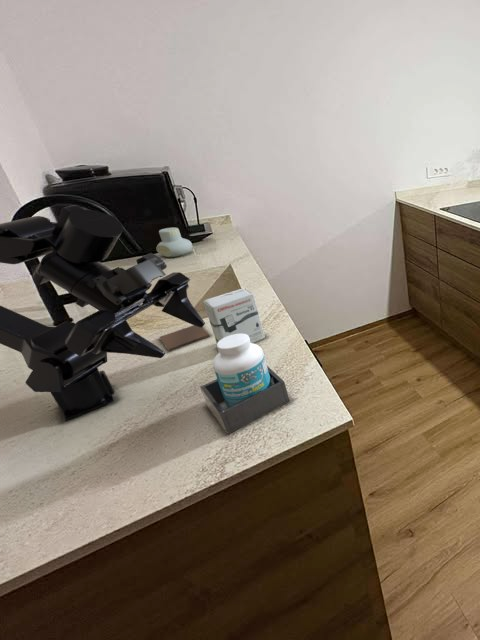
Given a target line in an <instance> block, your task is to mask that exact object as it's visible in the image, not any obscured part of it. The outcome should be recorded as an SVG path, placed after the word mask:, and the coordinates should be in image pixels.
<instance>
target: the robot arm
mask: <svg viewBox="0 0 480 640" xmlns="http://www.w3.org/2000/svg"><path fill="white" fill-rule="evenodd" d="M123 232H124V226H123V224H122V223H121V222H120V220H118V219H117V218H116V217H114V216H113V215H111V214H107V213H104V212H101V211H97V210H93V209H84V207H83V208H82V207H81V206H80V205H79V204H74V205H69V206H65V207H62V208H61V210H60V212H59V217H58V220H57V222H55V221H51V219H50V218H48V217H45V216H41V215H34V216H30V217H26V218H21V219H20V218H19V219H16V220H11V221H6V222H3V223H0V264H6V265H18V264H22V263H25V262H28V261H31V260H34V259H37V258H41V257H42V258H41V260H40V262H39V263H38V264H37V265H33V266H31V267H30V270H31V272H32V281H33V283H34V285H36V286H40V285H42V284H45V283H47V282H52V283H53V284H55V285H56V286H58V287H60V288H61V289H63V290H64V291H66V292H68V293H70V294H71V295H73V296H74V297H76V298H77V300H76V302H75V305H77V306H79V307H81V308H85V307H87V306H91V307H92V308H94V309H95V310H97V311H95V312H93V313H91V314H89V315H88V316H85V317H83V318H82V319H81V318H80V319H79V320H77V321H76V322H74V321H69V320H67V321H64V322H62V323H59V324H58V325H56V326H50V325H49V326H48V325H46V324H43V323H42V322H39V321H36V320H34V319H32V318H30V317H28V316H25V315H23V314H21V313H18V312H16V311H14V310H11V309H10V308H7V307H5V306H3V305H0V345H2V346H5V347H7V348H9V349H12V350H13V351H17V352H19V353H20V354H21V356H22V357H23V360H24V362H25V364H26V367H27V368H28V369H30V370H31V372H30V374H29V375H28V376H27V379H26V380H25V385H26V386H28V387H29V389H31V391H33V392H34V393H50V394H51V396H52V398H53V400H54V401H55V403H56V404H57V406H58V407H59V409H60V411H61V414H62V418H63V421H65V422H67V421H69V420H72V419H74V418H77V417H79V416H82V415H84V414H87V413H90V412H92V411H94V410H97V409H99V408H102V407H104V406H106V405H109V404H112V403H113V402H115V398H114V396H113V395H114V394H115V389H114V388H113V385H112V383H111V381H110V379H109V377H108V375H107V373H106V371H105V370H100V369H99V367H100V366H103V365H104V364H106V363H107V362H108V353H110V354H111V353H112V354H127V355H134V356H140V357H141V356H142V357H147V358H148V357H149V358H156V359H162V358H164V357H165V355H166V352H165V351H164V350H162V349H161V348H160V347H159V346H157V344H154V343H152V342H151V341H149V340H148V339H146V338H145V337H144V336H141V335H140V334H138V333H137V332H135V331H134V330H133V329H132V328H131V326H130V324H129V323H128V320H129V319H131V318H132V317H134V316H136V315H138V314H140V313H141V312H143V311H145V310H146V309H148V308H150V307H152V306H155V307H158V308H162V309H161V312H162V313H165V314H167V315H169V316H172V317H174V318H176V319H178V320H181V321H183V322H185V323H187V324H189V325H191V326H193V325H195V326H198V327H203V328H204V326H205V325H206V322H205V320H204V319H203V318H202V317H201V316H200V314H199V313H198V311H197V309H196V308H195V307H194V305H193V304H192V303H191V301H190V299H189V297H188V289H189V288H190V286H189V283H190V281H191V279H190V278H189V277H188V276H187V275H185V274H183V273H182V272H180V271H179V272H176V271H175V272H174V271H173V272H171V273H170V274H168V275H167V274H166V273H165V272H164V270H166V269H167V268H168V267H167V263H166V262H165V261H164V260H163V259H162V258H161V257H159V256H158V255H156V254H154V253H153V252H149V253H147V254H145V255H143V256H141V257H140V258H136V261H135V262H136V264H135V265H133V266H131V267H128V268H127V269H125V268H124V267H119V266H117V267H115V268H113V269H111V268H110V267H108V266H106V264H104V263H102V262H103V261H105V260H106V259H108V257H109V255H110V254H111V252H112V250H113V248H114V247H115V245H116V243H117V242H118V240H119V238H120V237H121V235H122V233H123ZM158 278H160V279H158ZM157 279H158V280H157ZM154 280H157V281H156V283H155V285H154V286H153V284H152V282H153V281H154ZM152 286H153V287H152ZM151 288H152V289H151ZM150 289H151V290H150ZM148 290H150V291H149V292H147V291H148Z"/></svg>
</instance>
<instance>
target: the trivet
mask: <svg viewBox="0 0 480 640" xmlns="http://www.w3.org/2000/svg"><path fill="white" fill-rule="evenodd" d="M210 336H211V335H210V333H208V331H207V330H206V329H205V328H204V326H203V327H198V326H195V325H191V326H187V327H185V328H182V329H178V330H175V331H172V332H170V333H167V334H164V335H161V336H159V339H160V341H161V343H162V344H163V345H164V346H165V348H166V350H167V351H168V352H172V351H174V350H176V349H180V348H182V347H185V346H187V345H190V344H193V343H196V342H199V341H202V340H204V339H207V338H210Z"/></svg>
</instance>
